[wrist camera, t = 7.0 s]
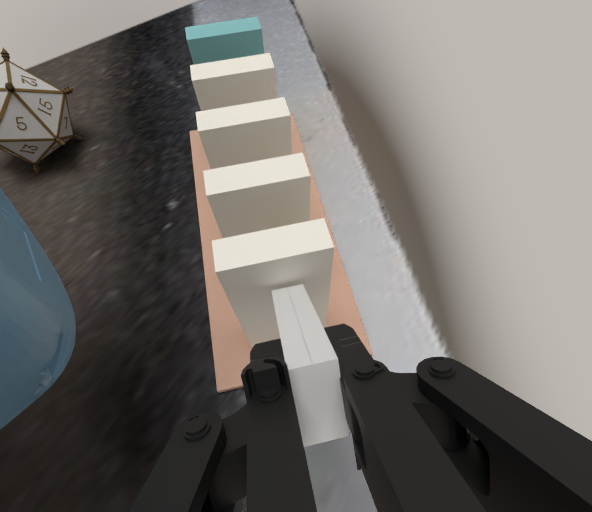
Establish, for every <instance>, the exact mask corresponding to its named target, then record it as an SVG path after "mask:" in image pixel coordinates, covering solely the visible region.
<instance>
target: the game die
mask: <svg viewBox="0 0 592 512" xmlns="http://www.w3.org/2000/svg"><path fill="white" fill-rule="evenodd" d="M1 54H2V57H3V59H4V61H3V62H1V63H0V149H1V150H3V151H5V152H8V153H10V154H12V155H14V156H16V157H19V158H21V159H23V160H25V161H27V162H29V163H32V164H33V167H32V168H33V170H34V171H35V172H36V173H37V174H38V173H39V170H40V169H39V166H38V165H37V163H39V162H40V161H42V160H43V159H44V158H46V157H47V156H48V155H50V154H51V153H52V152H54V151H55V150H56V149H58V148H59V147H61V146H62V145H65V143H66V142H67V141H69V140H70V139H71V138H75V139H77V140H78V141H79V140H83V139H82V137H81V136H80V135H78V134H74V133H73V128H72V123H71V118H70V113H69V108H68V103H67V98H66V94H70V93H72V91H73V89H74V88H72V87H67V88H64V91H63V90H61V89H59V88H57V87H55V86H53V85H52V84H50V83H48V82H46V81H44V80H43V79H41V78H39V77H37V76H35V75H34V74H32V73H30V72H28V71H26V70H24V69H23V68H21V67H19V66H17V65H15V64H14V63H12V62H10V61H9V58H10V57H9V54H8V53H7V51H6V50H5V49H4V48H3V50H2V52H1Z"/></svg>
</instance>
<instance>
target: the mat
mask: <svg viewBox="0 0 592 512" xmlns="http://www.w3.org/2000/svg"><path fill="white" fill-rule="evenodd" d="M290 121H291V141H292V154H297V153H303V155H304V158H305V161H306V164H307V167H308V170H309V173H310V221H311V220H316V219H321V218H324V219H325V222H326V225H327V228H328V231H329V233H330V236H331V239H332V242H333V245H334V254H333V263H332V272H331V282H330V291H329V301H328V310H327V319H326V327H330V326H334V325H339V324H343V323H344V324H346V325H348V326H350V327H352V328H353V329H354V331H355V332H356V334H357V335H358V337H359V338H360V340H361V342H362V343H363V344H364V346H365V347H366V349H367V350H368V352H369V354H370V355H371V356H372V351H371V348H370V345H369V342H368V339H367V336H366V333H365V330H364V327H363V324H362V321H361V318H360V315H359V312H358V309H357V306H356V303H355V300H354V297H353V294H352V291H351V288H350V285H349V282H348V279H347V276H346V273H345V270H344V267H343V264H342V261H341V258H340V255H339V252H338V249H337V246H336V243H335V240H334V237H333V234H332V232H331V229H330V226H329V223H328V220H327V217H326V214H325V211H324V208H323V205H322V202H321V199H320V196H319V193H318V190H317V187H316V184H315V181H314V178H313V175H312V172H311V169H310V166H309V163H308V160H307V157H306V154H305V151H304V148H303V145H302V142H301V139H300V136H299V133H298V130H297V127H296V124H295V121H294V118H293V115H292V114H290ZM190 139H191V149H192V158H193V168H194V177H195V186H196V196H197V205H198V215H199V224H200V234H201V243H202V252H203V262H204V271H205V281H206V290H207V300H208V309H209V318H210V328H211V337H212V347H213V356H214V366H215V375H216V384H217V391H218V392H219V393H221V392H225V391H229V390H233V389H237V388H241V387H243V383H242V379H241V373H242V370H243V369H244V368H245V367H246V366H247V365H248V364H249V363H250V351H251V350H252V348H253V347H251V346H250V344H249V342H248V340H247V338H246V335H245V333H244V331H243V329H242V327H241V325H240V323H239V321H238V319H237V317H236V314H235V312H234V310H233V308H232V306H231V304H230V302H229V300H228V298H227V296H226V294H225V291H224V289H223V287H222V285H221V283H220V281H219V279H218V277H217V275H216V273H215V265H214V256H213V248H212V240H217V239H222V235H221V233H220V230H219V227H218V225H217V222H216V220H215V217H214V214H213V212H212V209H211V207H210V204H209V202H208V199H207V196H206V190H205V182H204V174H203V171H205V170H210V169H211V168H210V165H209V162H208V159H207V156H206V153H205V151H204V148H203V145H202V142H201V139H200V136H199V133H198V130H194V131H190Z"/></svg>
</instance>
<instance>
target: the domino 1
mask: <svg viewBox="0 0 592 512" xmlns="http://www.w3.org/2000/svg"><path fill="white" fill-rule="evenodd" d="M185 30H186V38H187V43H188V46H189V49H190V53H191V56H192V60H193V63H194V65H195V64H202V63H208V62H214V61H221V60H227V59H234V58H240V57H246V56H253V55H259V54H264V47H263V37H262V28H261V25H260V22H259V19H258V17H252V18H245V19H239V20H232V21H225V22H218V23H212V24H205V25H198V26H191V27H185Z"/></svg>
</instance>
